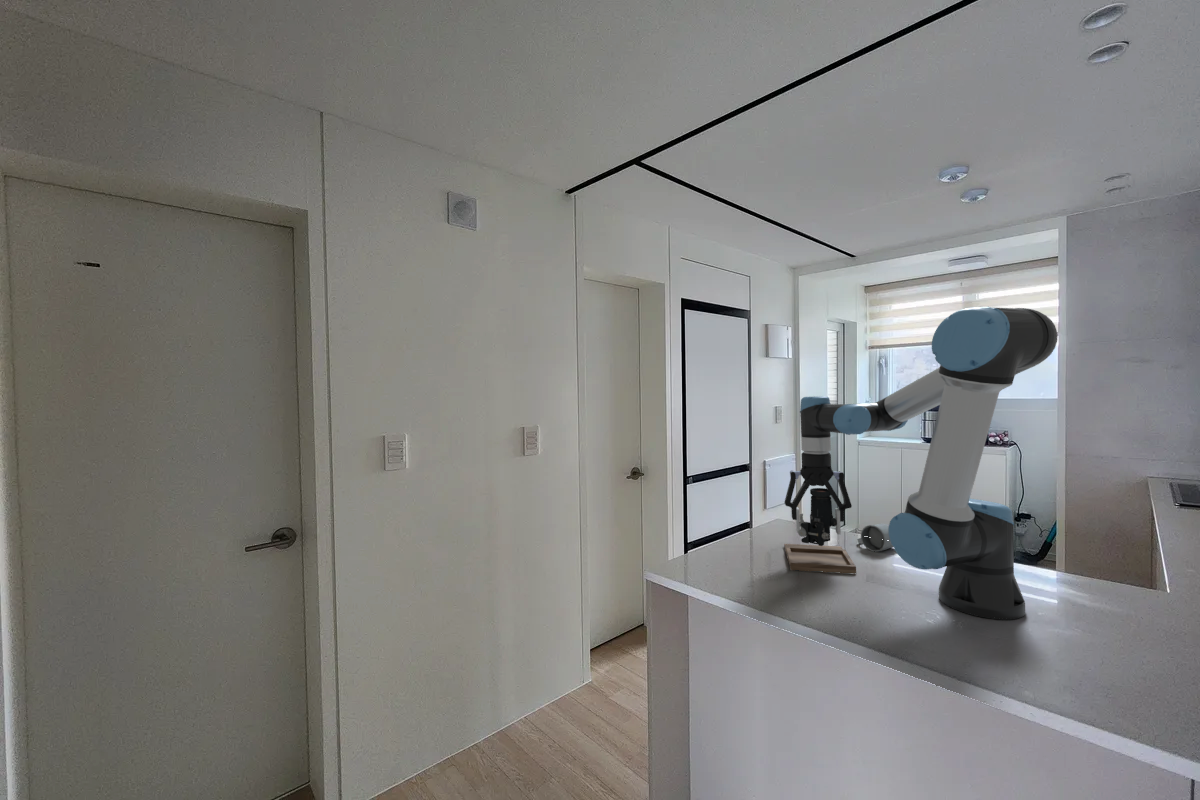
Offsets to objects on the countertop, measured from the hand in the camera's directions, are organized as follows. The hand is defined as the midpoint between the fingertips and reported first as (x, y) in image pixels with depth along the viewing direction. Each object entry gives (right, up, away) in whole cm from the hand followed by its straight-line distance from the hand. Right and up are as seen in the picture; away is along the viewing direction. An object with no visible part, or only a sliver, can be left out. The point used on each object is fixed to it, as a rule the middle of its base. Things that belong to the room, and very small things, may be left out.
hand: (817, 532), depth 137 cm
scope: (+1, -2, 0) cm, 2 cm away
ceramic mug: (+22, -8, +11) cm, 26 cm away
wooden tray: (+1, -9, +3) cm, 9 cm away
